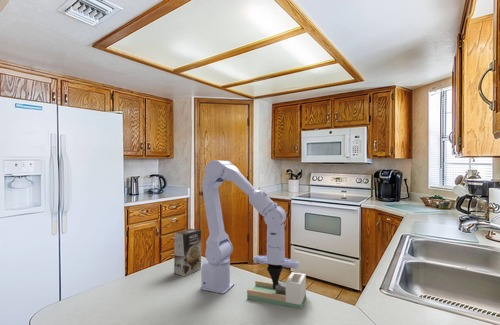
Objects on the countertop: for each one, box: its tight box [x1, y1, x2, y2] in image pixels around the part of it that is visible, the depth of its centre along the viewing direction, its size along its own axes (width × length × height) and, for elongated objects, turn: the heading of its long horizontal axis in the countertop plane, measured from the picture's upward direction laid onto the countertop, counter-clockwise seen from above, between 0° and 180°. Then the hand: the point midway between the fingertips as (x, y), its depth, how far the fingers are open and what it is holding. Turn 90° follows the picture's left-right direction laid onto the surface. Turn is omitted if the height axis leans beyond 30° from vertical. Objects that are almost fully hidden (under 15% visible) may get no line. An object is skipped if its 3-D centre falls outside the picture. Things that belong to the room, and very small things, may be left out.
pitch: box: [246, 271, 307, 310], centre depth 83 cm, size 17×8×7 cm, turn 67°
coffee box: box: [173, 228, 202, 277], centre depth 106 cm, size 9×6×16 cm
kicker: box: [276, 281, 286, 295], centre depth 82 cm, size 4×3×3 cm
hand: (275, 288), depth 83 cm, fingers closed, pressing on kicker
